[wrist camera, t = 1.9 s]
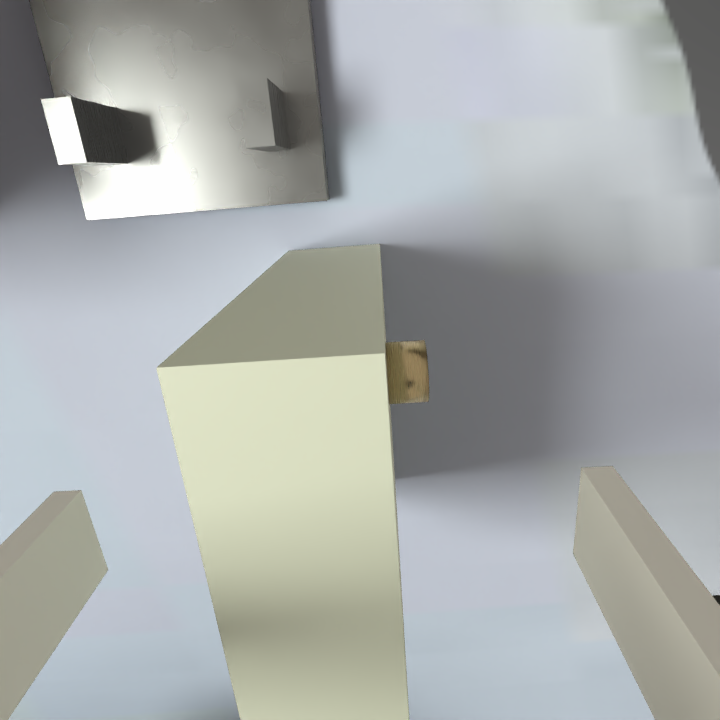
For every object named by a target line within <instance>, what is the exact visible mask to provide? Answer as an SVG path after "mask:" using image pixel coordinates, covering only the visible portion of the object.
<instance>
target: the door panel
mask: <svg viewBox="0 0 720 720" xmlns="http://www.w3.org/2000/svg"><path fill="white" fill-rule="evenodd" d="M157 372H158V377H159V381H160V385H161V389H162V393H163V398H164V402H165V406H166V410H167V414H168V419H169V423H170V427H171V431H172V435H173V440H174V444H175V448H176V452H177V456H178V460H179V465H180V469H181V473H182V477H183V481H184V486H185V490H186V494H187V498H188V502H189V507H190V511H191V515H192V519H193V523H194V528H195V532H196V536H197V540H198V544H199V548H200V553H201V557H202V561H203V565H204V569H205V574H206V578H207V582H208V586H209V590H210V595H211V599H212V603H213V607H214V611H215V615H216V620H217V624H218V628H219V632H220V636H221V641H222V645H223V649H224V653H225V657H226V662H227V666H228V670H229V674H230V678H231V683H232V687H233V691H234V695H235V699H236V703H237V708H238V712H239V716H240V720H409V706H408V689H407V672H406V655H405V639H404V622H403V605H402V588H401V572H400V555H399V538H398V521H397V504H396V488H395V471H394V456H393V440H392V425H391V409H390V404H401V403H418V402H428V401H429V374H428V361H427V351H426V345H425V341H424V340H418V341H402V342H387V343H386V331H385V316H384V300H383V284H382V269H381V253H380V244H370V245H357V246H344V247H331V248H318V249H305V250H292V251H288V252H287V253H286V254H284V255H283V256H282V257H281V258H280V259H279V260H278V261H276V262H275V263H274V264H273V265H272V266H271V267H270V268H269V269H267V270H266V271H265V272H264V273H263V274H262V275H261V276H260V277H258V278H257V279H256V280H255V281H254V282H253V283H252V284H251V285H249V286H248V287H247V288H246V289H245V290H244V291H243V292H241V293H240V294H239V295H238V296H237V297H236V298H235V299H234V300H232V301H231V302H230V303H229V304H228V305H227V306H226V307H225V308H223V309H222V310H221V311H220V312H219V313H218V314H217V315H216V316H214V317H213V318H212V319H211V320H210V321H209V322H208V323H206V324H205V325H204V326H203V327H202V328H201V329H200V330H199V331H197V332H196V333H195V334H194V335H193V336H192V337H191V338H190V339H188V340H187V341H186V342H185V343H184V344H183V345H182V346H181V347H179V348H178V349H177V350H176V351H175V352H174V353H173V354H171V355H170V356H169V357H168V358H167V359H166V360H165V361H164V362H162V363H161V364H160V365H159V366H158V367H157Z"/></svg>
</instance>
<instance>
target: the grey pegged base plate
mask: <svg viewBox="0 0 720 720" xmlns="http://www.w3.org/2000/svg"><path fill="white" fill-rule="evenodd" d="M29 2H30V6H31V9H32V13H33V17H34V21H35V25H36V29H37V32H38V36H39V40H40V44H41V48H42V51H43V55H44V59H45V63H46V67H47V70H48V74H49V78H50V82H51V86H52V90H53V93H54V97H55V98H49V99H41V102H42V106H43V109H44V113H45V117H46V120H47V124H48V128H49V132H50V135H51V139H52V143H53V146H54V150H55V154H56V157H57V161H58V165H72V166H73V170H74V173H75V177H76V181H77V185H78V189H79V192H80V196H81V200H82V204H83V208H84V212H85V215H86V219H87V220H95V219H108V218H120V217H132V216H144V215H156V214H169V213H181V212H193V211H205V210H217V209H230V208H242V207H254V206H266V205H278V204H291V203H303V202H315V201H327V200H329V191H328V180H327V170H326V160H325V149H324V139H323V128H322V118H321V108H320V97H319V87H318V76H317V66H316V56H315V45H314V35H313V24H312V14H311V4H310V0H29Z"/></svg>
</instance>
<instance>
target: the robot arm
mask: <svg viewBox="0 0 720 720" xmlns="http://www.w3.org/2000/svg"><path fill="white" fill-rule="evenodd" d="M573 555H574V557H575V559H576V561H577V563H578V565H579V567H580V569H581V571H582V573H583V575H584V577H585V579H586V581H587V583H588V585H589V587H590V589H591V591H592V593H593V595H594V597H595V599H596V601H597V603H598V605H599V607H600V609H601V611H602V613H603V615H604V617H605V619H606V621H607V623H608V625H609V627H610V629H611V631H612V633H613V635H614V637H615V640H616V642H617V644H618V646H619V648H620V650H621V652H622V654H623V656H624V658H625V660H626V662H627V664H628V666H629V668H630V670H631V672H632V674H633V676H634V678H635V680H636V682H637V684H638V686H639V688H640V690H641V692H642V694H643V696H644V698H645V700H646V702H647V704H648V706H649V708H650V710H651V712H652V714H653V716H654V718H655V720H720V595H717V596H712V595H711V594H710V592H709V591H708V590H707V588H706V587H705V586H704V584H703V583H702V582H701V581H700V579H699V578H698V577H697V575H696V574H695V573H694V571H693V570H692V569H691V568H690V566H689V565H688V564H687V562H686V561H685V560H684V558H683V557H682V556H681V555H680V553H679V552H678V551H677V549H676V548H675V547H674V545H673V544H672V543H671V542H670V540H669V539H668V538H667V536H666V535H665V534H664V532H663V531H662V530H661V529H660V527H659V526H658V525H657V523H656V522H655V521H654V519H653V518H652V517H651V515H650V514H649V513H648V512H647V510H646V509H645V508H644V506H643V505H642V504H641V502H640V501H639V500H638V499H637V497H636V496H635V495H634V493H633V492H632V491H631V489H630V488H629V487H628V486H627V484H626V483H625V482H624V480H623V479H622V478H621V476H620V475H619V474H618V473H617V471H616V470H615V469H614V467H613V466H604V467H582V468H581V476H580V486H579V497H578V507H577V517H576V528H575V538H574V549H573ZM107 571H108V568H107V565H106V562H105V559H104V556H103V553H102V550H101V547H100V544H99V541H98V539H97V536H96V533H95V530H94V527H93V524H92V521H91V518H90V515H89V512H88V509H87V506H86V503H85V500H84V497H83V494H82V491H81V490H78V491H56V492H53V493H52V494H51V495H50V496H49V497H48V498H47V499H46V500H45V501H44V502H43V503H42V504H41V505H40V506H39V507H38V508H37V509H36V510H35V511H34V512H33V513H32V514H31V515H30V516H29V517H28V518H27V519H26V520H25V521H24V522H23V523H22V524H21V525H20V526H19V527H18V528H17V529H16V530H15V531H14V532H13V533H12V534H11V535H10V536H9V537H8V538H7V539H6V540H5V541H4V542H3V543H2V544H1V545H0V720H8V719H9V717H10V716H11V714H12V713H13V711H14V710H15V708H16V707H17V705H18V704H19V702H20V701H21V699H22V698H23V696H24V695H25V693H26V692H27V690H28V689H29V687H30V686H31V684H32V683H33V681H34V680H35V678H36V677H37V675H38V674H39V672H40V671H41V669H42V668H43V666H44V665H45V663H46V662H47V660H48V659H49V658H50V656H51V655H52V653H53V652H54V650H55V649H56V647H57V646H58V644H59V643H60V641H61V640H62V638H63V637H64V635H65V634H66V632H67V631H68V629H69V628H70V626H71V625H72V623H73V622H74V620H75V619H76V617H77V616H78V614H79V613H80V611H81V610H82V608H83V607H84V605H85V604H86V602H87V601H88V599H89V598H90V596H91V595H92V593H93V592H94V590H95V589H96V587H97V586H98V584H99V583H100V581H101V580H102V578H103V577H104V575H105V574H106V572H107Z"/></svg>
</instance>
